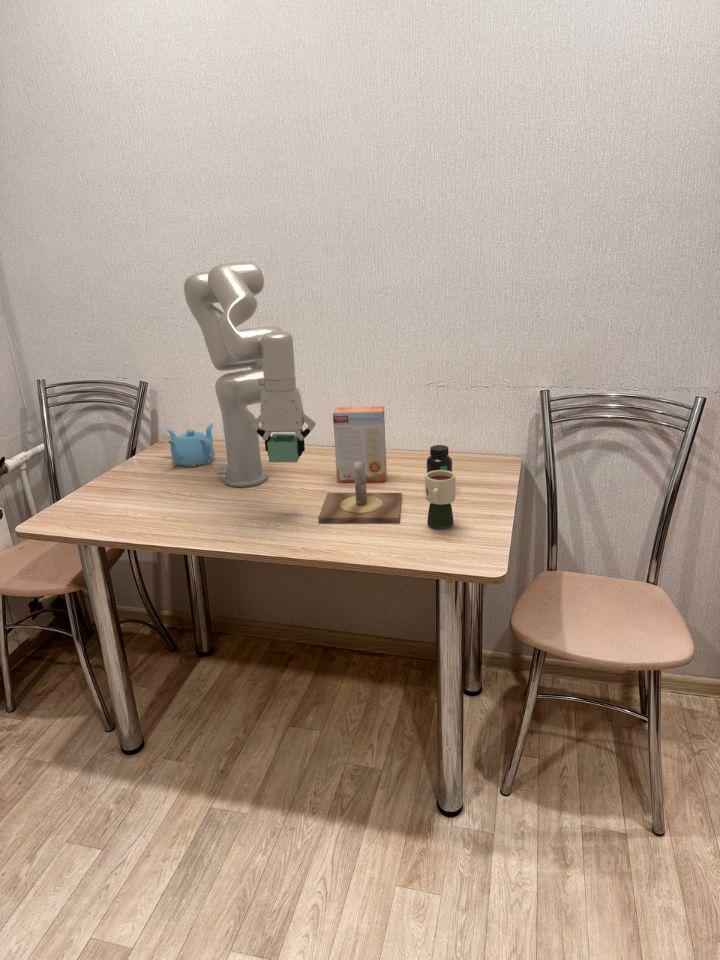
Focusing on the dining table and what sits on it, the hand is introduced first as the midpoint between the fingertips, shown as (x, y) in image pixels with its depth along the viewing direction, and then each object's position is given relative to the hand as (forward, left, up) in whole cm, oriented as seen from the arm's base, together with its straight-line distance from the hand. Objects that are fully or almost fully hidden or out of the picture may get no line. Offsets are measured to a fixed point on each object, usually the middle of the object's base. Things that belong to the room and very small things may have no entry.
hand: (285, 453), depth 173 cm
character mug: (+38, -7, -16) cm, 42 cm away
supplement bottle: (+38, +16, -16) cm, 44 cm away
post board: (+18, +2, -16) cm, 24 cm away
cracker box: (+16, +24, -16) cm, 33 cm away
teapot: (-40, +41, -16) cm, 59 cm away
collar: (0, 0, -1) cm, 1 cm away
